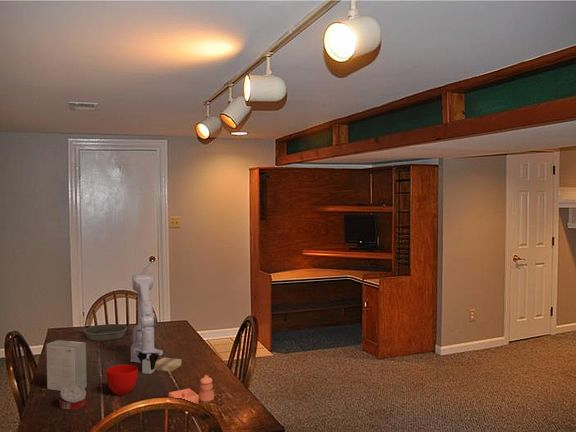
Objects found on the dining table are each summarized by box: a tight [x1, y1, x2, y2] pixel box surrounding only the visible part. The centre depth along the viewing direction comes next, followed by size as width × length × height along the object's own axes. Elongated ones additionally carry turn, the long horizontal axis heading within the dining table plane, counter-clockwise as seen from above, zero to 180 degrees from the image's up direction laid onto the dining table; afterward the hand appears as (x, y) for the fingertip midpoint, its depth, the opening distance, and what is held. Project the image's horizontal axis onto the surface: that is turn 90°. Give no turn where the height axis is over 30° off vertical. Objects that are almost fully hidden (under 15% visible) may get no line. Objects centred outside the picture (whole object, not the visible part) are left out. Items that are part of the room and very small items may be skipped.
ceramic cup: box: [105, 364, 139, 396], centre depth 238 cm, size 13×17×10 cm
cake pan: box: [83, 323, 128, 341], centre depth 330 cm, size 25×25×4 cm
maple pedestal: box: [154, 357, 182, 372], centre depth 271 cm, size 10×10×3 cm
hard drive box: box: [45, 339, 88, 392], centre depth 241 cm, size 16×8×20 cm, turn 71°
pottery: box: [167, 374, 215, 404], centre depth 227 cm, size 18×10×10 cm, turn 123°
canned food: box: [59, 381, 87, 411], centre depth 223 cm, size 11×10×10 cm
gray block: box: [141, 358, 155, 375], centre depth 264 cm, size 4×4×6 cm
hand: (148, 368), depth 264 cm, fingers closed on gray block, 4 cm apart
